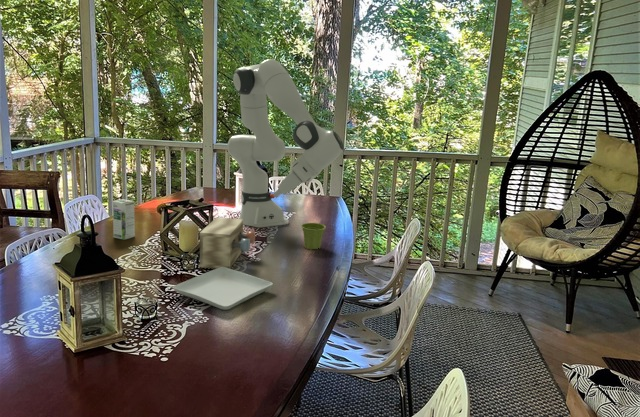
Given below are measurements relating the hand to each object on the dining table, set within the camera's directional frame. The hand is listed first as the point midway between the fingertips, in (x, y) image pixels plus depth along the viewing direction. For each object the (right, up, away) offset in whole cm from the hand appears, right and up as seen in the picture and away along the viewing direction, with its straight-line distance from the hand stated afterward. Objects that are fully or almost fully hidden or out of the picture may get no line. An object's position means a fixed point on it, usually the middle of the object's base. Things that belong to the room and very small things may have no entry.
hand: (275, 195), depth 170 cm
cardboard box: (-19, -22, +2) cm, 29 cm away
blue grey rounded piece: (-12, -19, -4) cm, 23 cm away
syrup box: (-60, -16, +19) cm, 65 cm away
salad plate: (-13, -30, -27) cm, 42 cm away
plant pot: (+13, -20, +20) cm, 31 cm away
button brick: (-11, -17, +5) cm, 21 cm away
